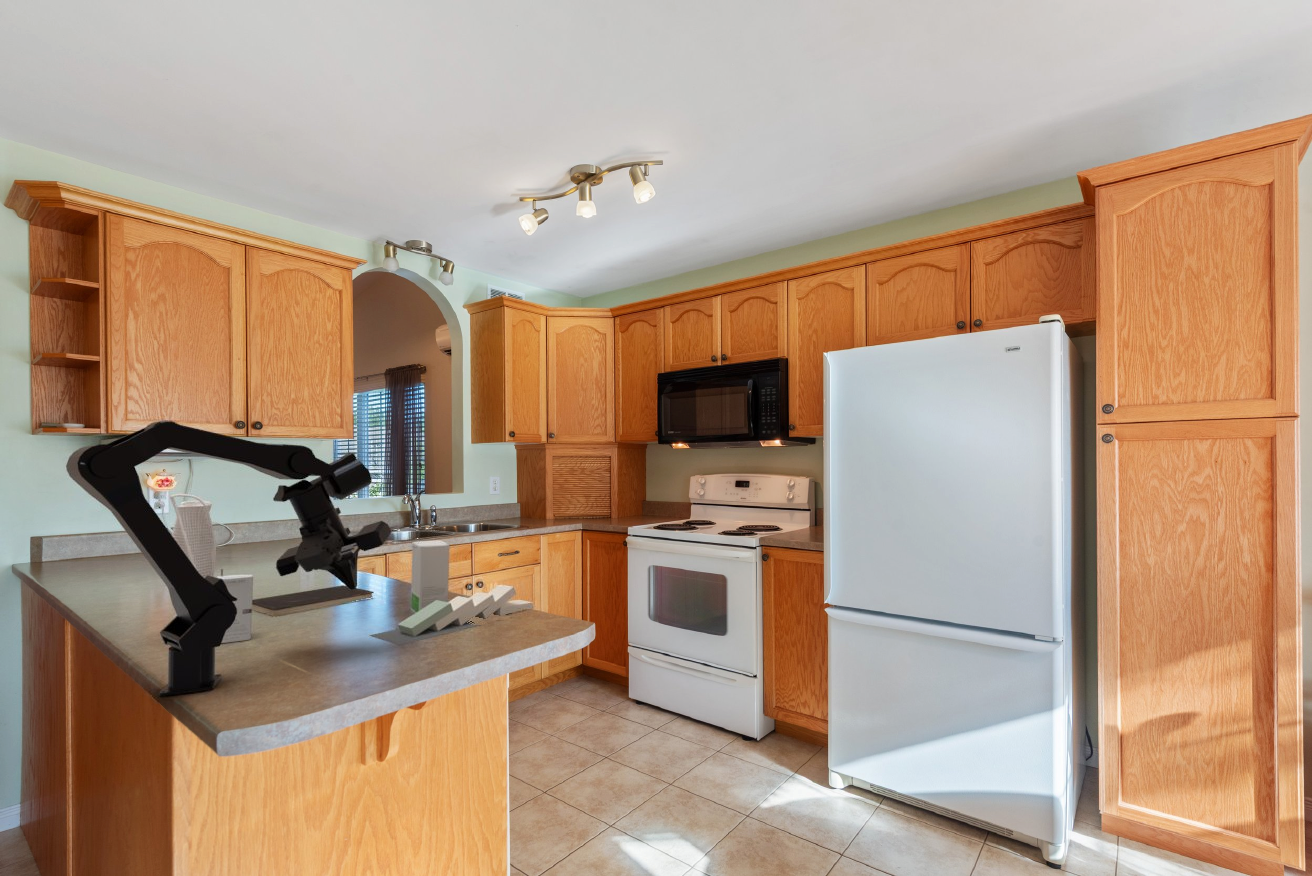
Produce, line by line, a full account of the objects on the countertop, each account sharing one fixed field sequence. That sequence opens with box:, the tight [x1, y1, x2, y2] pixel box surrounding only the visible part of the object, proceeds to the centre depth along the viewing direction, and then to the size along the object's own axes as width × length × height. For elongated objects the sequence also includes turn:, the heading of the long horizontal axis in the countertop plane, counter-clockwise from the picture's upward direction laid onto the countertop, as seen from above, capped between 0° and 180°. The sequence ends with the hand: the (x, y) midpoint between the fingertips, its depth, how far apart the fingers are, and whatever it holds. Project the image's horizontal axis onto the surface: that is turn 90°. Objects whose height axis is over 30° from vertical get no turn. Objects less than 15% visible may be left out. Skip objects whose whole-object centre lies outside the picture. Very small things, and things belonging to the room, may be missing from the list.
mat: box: [369, 620, 481, 646], centre depth 130 cm, size 26×11×1 cm, turn 141°
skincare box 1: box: [216, 573, 254, 644], centre depth 124 cm, size 6×4×12 cm
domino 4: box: [475, 584, 517, 619], centre depth 139 cm, size 2×5×9 cm
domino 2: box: [428, 595, 475, 631], centre depth 131 cm, size 2×5×9 cm
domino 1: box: [397, 600, 453, 637], centre depth 127 cm, size 2×5×9 cm
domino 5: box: [493, 599, 534, 616], centre depth 143 cm, size 2×5×9 cm
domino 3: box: [451, 591, 495, 625], centre depth 135 cm, size 2×5×9 cm
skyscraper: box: [169, 493, 224, 619], centre depth 127 cm, size 8×8×28 cm
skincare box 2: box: [410, 539, 450, 614], centre depth 144 cm, size 8×7×16 cm
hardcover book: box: [252, 584, 374, 617], centre depth 156 cm, size 16×23×2 cm
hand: (354, 588), depth 117 cm, fingers closed
